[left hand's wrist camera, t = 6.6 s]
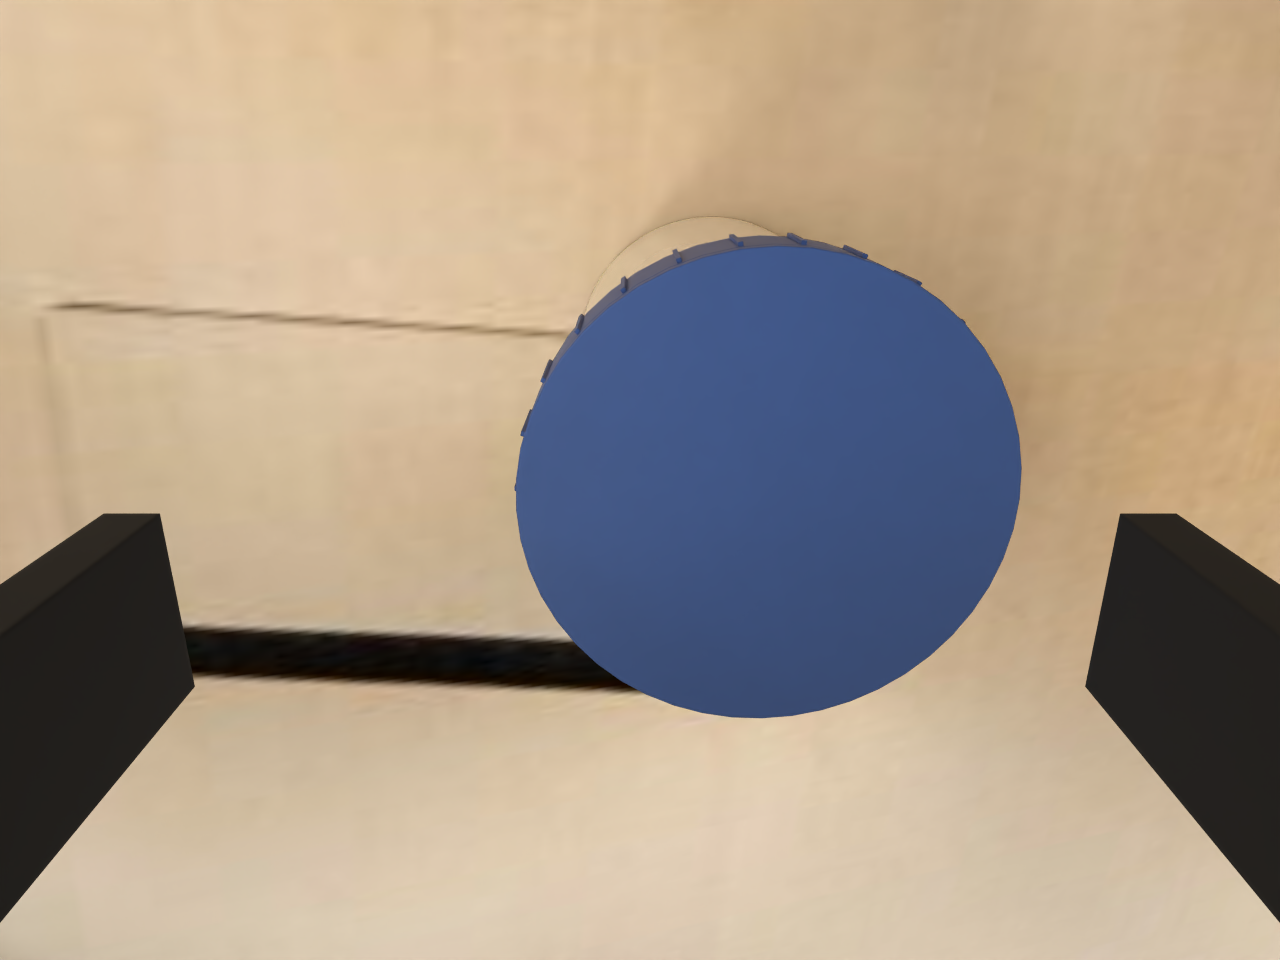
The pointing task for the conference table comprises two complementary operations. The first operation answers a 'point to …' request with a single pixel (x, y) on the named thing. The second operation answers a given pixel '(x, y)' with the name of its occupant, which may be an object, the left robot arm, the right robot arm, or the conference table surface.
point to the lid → (766, 477)
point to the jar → (669, 247)
